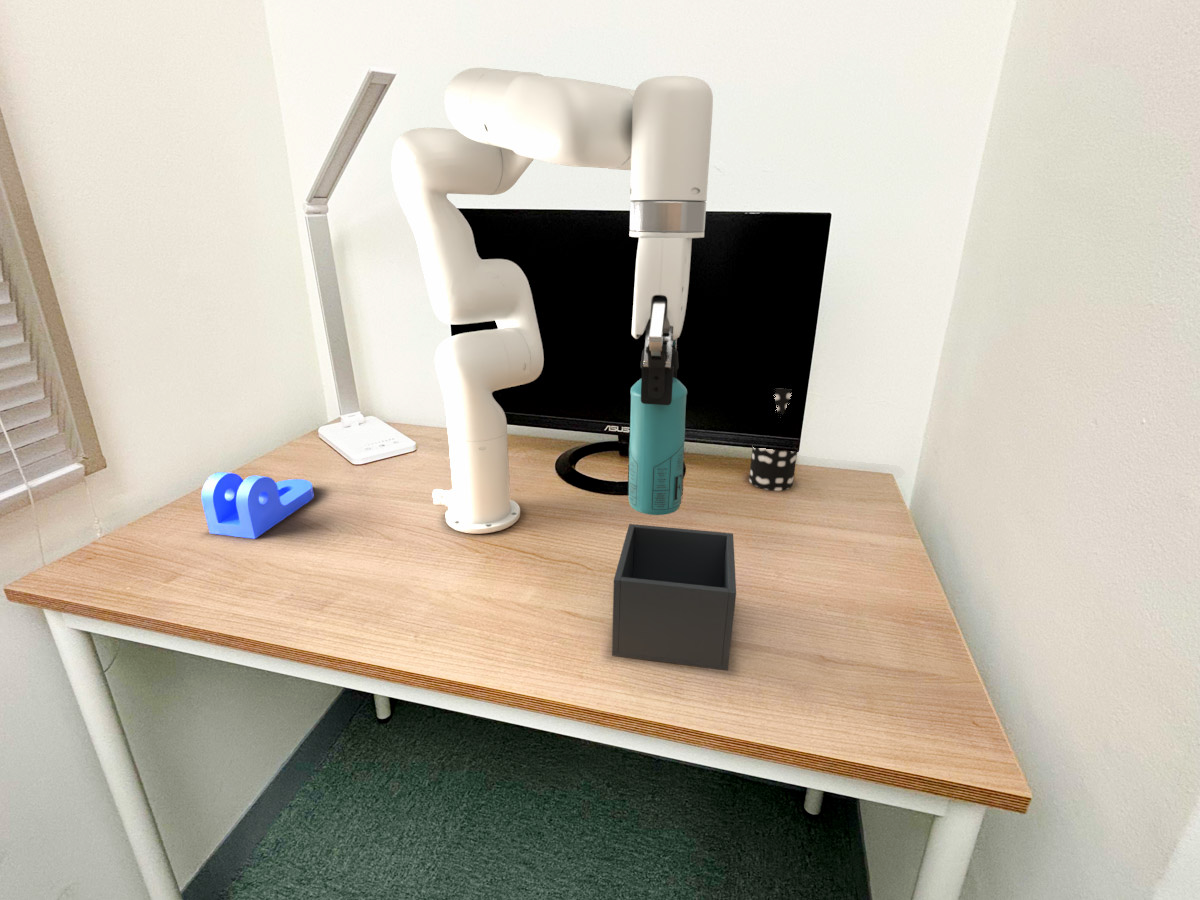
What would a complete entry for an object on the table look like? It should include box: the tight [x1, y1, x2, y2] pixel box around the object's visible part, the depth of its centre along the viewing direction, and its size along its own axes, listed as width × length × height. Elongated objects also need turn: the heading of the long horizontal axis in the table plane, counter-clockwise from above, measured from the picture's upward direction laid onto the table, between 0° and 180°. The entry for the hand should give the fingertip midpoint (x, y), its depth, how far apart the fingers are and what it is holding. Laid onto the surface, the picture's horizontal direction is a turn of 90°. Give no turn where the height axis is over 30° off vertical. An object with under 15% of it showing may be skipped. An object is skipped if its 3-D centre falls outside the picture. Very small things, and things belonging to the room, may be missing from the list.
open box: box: [611, 523, 737, 671], centre depth 77 cm, size 14×14×11 cm
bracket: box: [200, 471, 315, 540], centre depth 106 cm, size 18×8×9 cm, turn 169°
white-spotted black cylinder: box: [748, 388, 798, 492], centre depth 117 cm, size 8×8×20 cm
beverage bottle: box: [626, 347, 688, 516], centre depth 70 cm, size 6×7×20 cm
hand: (659, 392), depth 68 cm, fingers closed on beverage bottle, 6 cm apart
